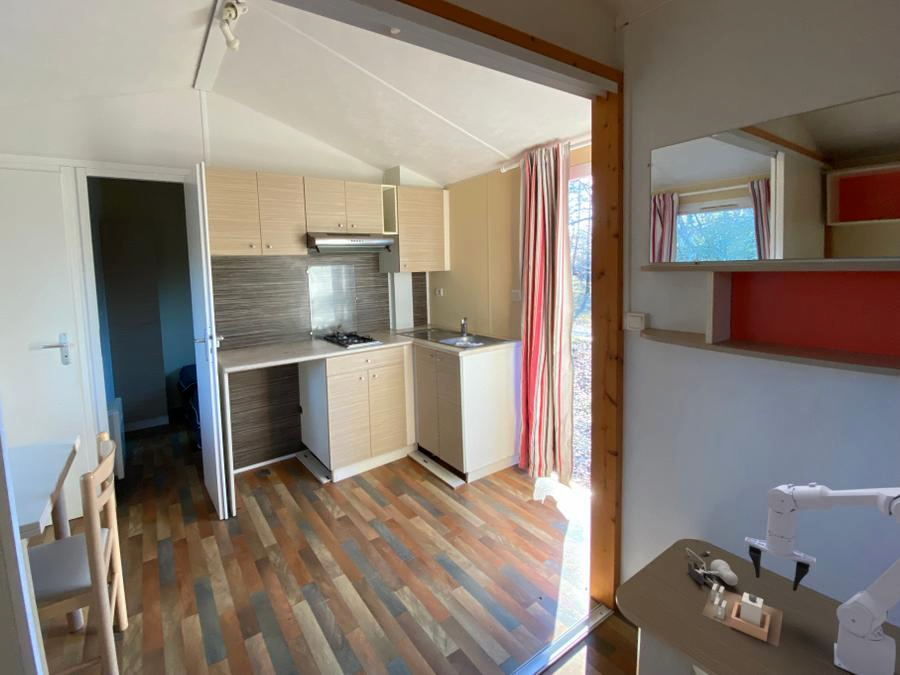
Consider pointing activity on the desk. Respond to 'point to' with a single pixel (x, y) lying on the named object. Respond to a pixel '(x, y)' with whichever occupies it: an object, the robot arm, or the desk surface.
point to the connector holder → (748, 626)
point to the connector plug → (751, 609)
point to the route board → (731, 599)
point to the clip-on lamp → (712, 571)
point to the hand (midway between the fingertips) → (775, 582)
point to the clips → (718, 602)
